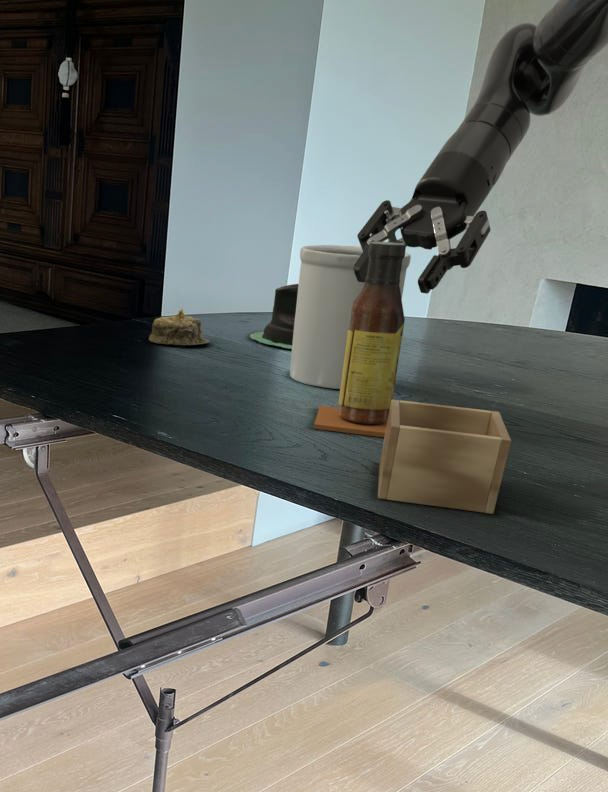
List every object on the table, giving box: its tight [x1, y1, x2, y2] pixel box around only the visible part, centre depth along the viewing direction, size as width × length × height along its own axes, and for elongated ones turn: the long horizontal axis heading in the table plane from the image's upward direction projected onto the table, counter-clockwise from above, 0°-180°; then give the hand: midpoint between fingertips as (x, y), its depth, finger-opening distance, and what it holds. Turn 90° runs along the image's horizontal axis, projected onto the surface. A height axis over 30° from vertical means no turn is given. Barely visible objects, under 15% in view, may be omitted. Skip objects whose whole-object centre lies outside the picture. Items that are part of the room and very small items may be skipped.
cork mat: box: [313, 405, 388, 438], centre depth 119 cm, size 10×10×1 cm
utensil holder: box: [289, 244, 412, 390], centre depth 138 cm, size 15×15×18 cm
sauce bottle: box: [337, 241, 407, 424], centre depth 115 cm, size 6×6×20 cm
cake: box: [148, 308, 211, 346], centre depth 160 cm, size 10×10×5 cm
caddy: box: [377, 399, 512, 515], centre depth 96 cm, size 11×12×7 cm
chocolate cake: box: [249, 283, 299, 350], centre depth 167 cm, size 15×19×20 cm
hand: (389, 282), depth 113 cm, fingers open, 8 cm apart
